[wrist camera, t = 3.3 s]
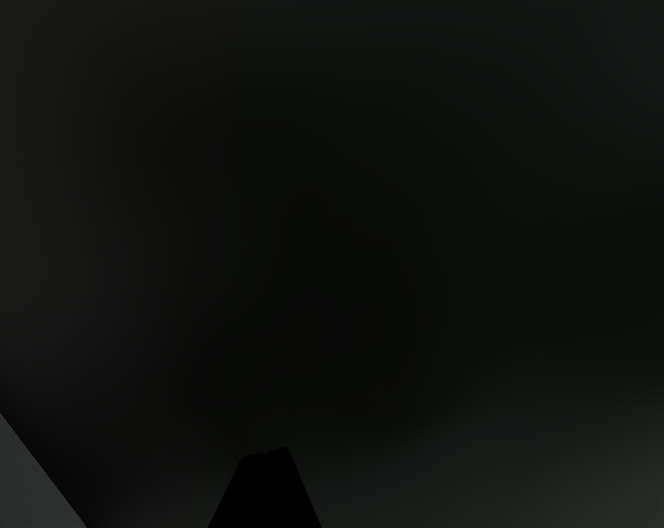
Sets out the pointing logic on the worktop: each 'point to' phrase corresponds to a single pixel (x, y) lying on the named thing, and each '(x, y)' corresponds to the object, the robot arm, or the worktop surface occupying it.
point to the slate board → (29, 489)
